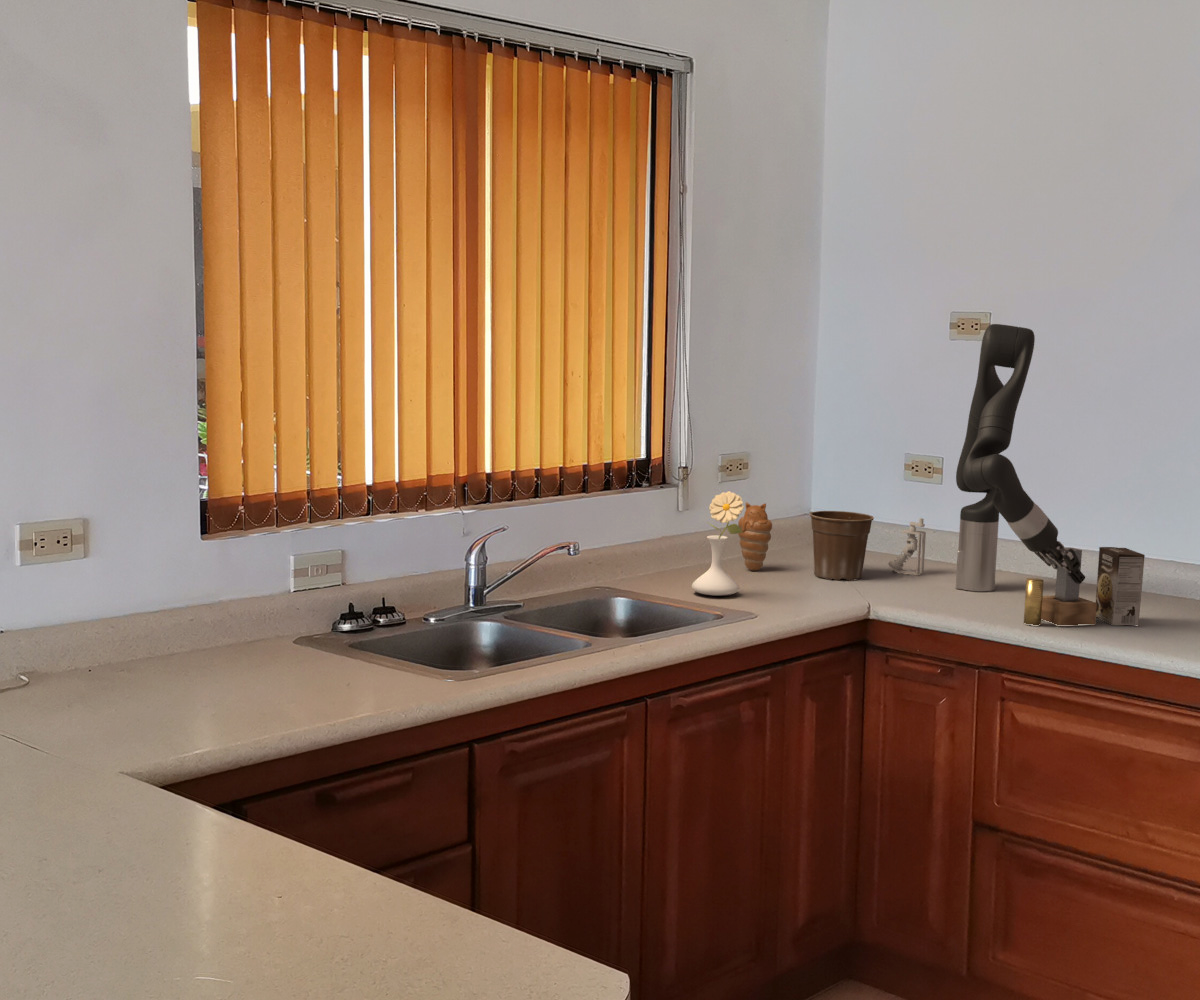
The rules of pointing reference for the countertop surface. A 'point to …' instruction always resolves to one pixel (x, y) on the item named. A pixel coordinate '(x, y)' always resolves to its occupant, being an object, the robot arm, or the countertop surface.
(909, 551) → the clamp
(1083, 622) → the bore block
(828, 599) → the countertop surface
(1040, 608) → the round bit
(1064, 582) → the square bit
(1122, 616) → the coffee box
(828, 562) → the plant pot
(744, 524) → the cat ice cream
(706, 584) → the flower in vase
